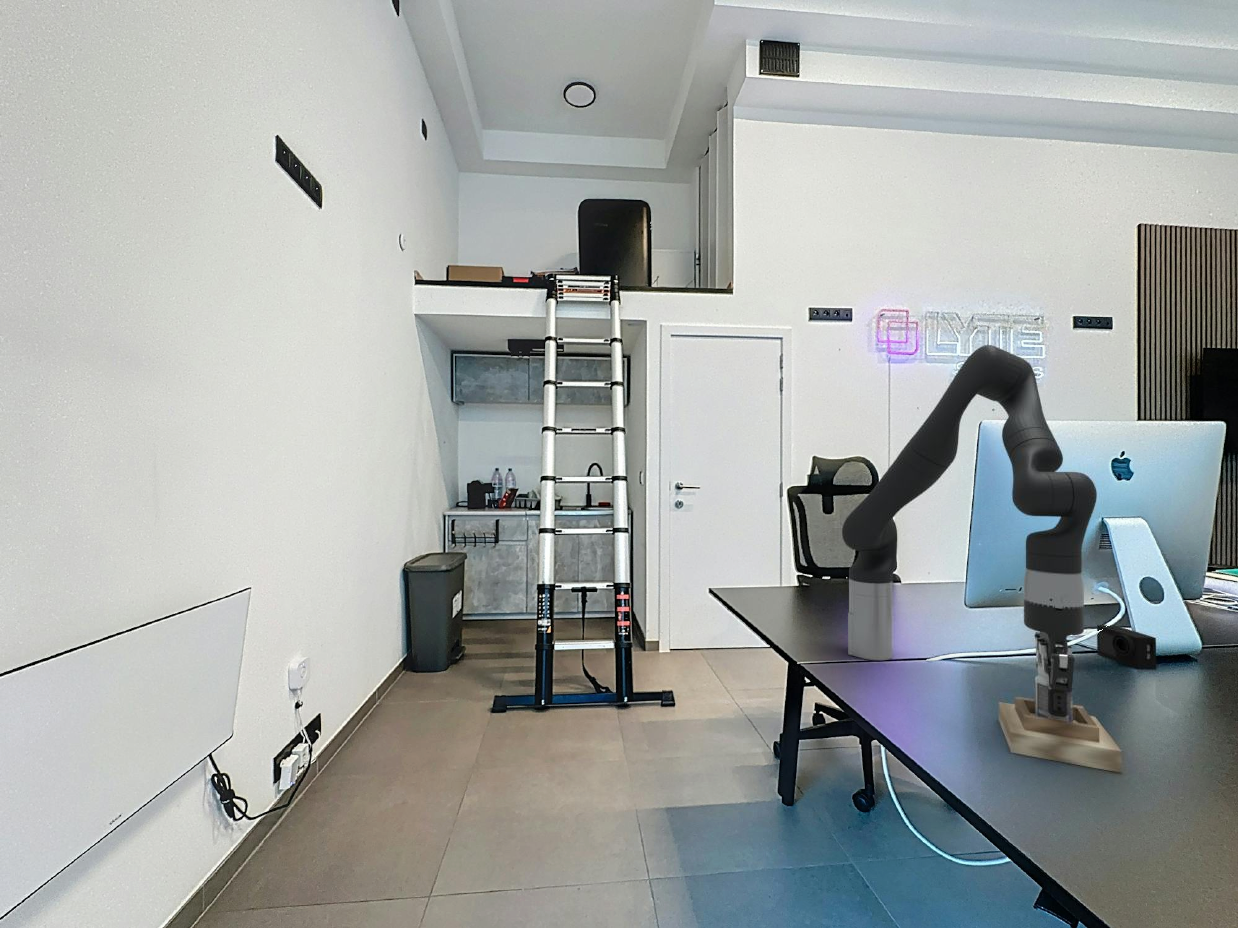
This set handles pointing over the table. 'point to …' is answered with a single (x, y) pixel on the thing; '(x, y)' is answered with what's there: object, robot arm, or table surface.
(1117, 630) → the digital camera
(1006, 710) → the wooden base
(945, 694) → the table surface
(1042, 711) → the pill bottle
